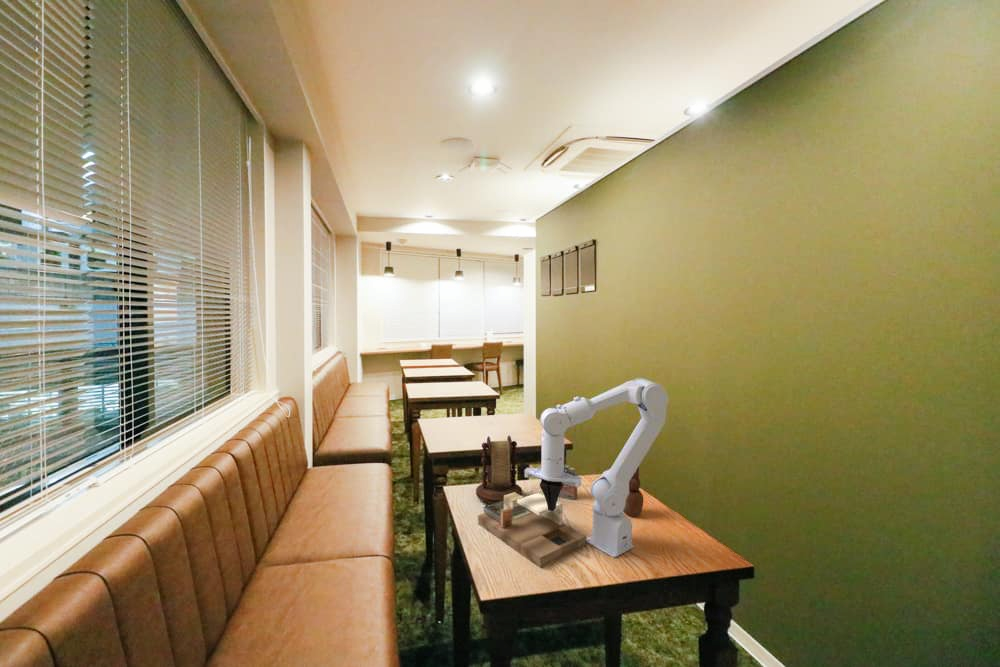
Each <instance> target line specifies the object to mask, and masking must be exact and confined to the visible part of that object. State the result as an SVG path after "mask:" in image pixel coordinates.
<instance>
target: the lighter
mask: <svg viewBox="0 0 1000 667" xmlns="http://www.w3.org/2000/svg"><path fill="white" fill-rule="evenodd" d="M564 472H565V473H568V474H571V475H574V476H577V477H579V475H578V474H576V473H575V468H574V467H570V465H564ZM558 498H562V499H565V500H570V501H571V500H572V501H577V500H578V498H579V497H578V487H575V486H573V485H568V484H564V485H563V487H562V489H561V491H560V493H559V496H558Z"/></svg>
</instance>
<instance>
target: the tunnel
mask: <svg viewBox="0 0 1000 667" xmlns="http://www.w3.org/2000/svg"><path fill="white" fill-rule="evenodd" d="M517 503H518V504H520V505H522V506H523V507H525V508H526V510H525V511H523V512H520V513H517V514H515V515H512V524H511V525H509V526H506V527H501V523H500V522H498V521H497V520H495V519H494V518H492V517H491V516H489V515H488V514H486V513H484V512H483V513H481V514H478V515H477V525H479V526H480V527H482V528H484V529H485V530H486V531H487V532H489V533H490V534H491V535H493V536H494V537H496V538H497V539H499V540H500V541H501V542H503V543H504V544H505V545H507V546H509V547H510V548H511V549H513V550H514V551H516V552H517V553H518V554H520V555H521V556H522V557H524V558H525V559H527V560H528V561H529V562H531V563H533V564H534V565H536V567H538V568H539V569H541V568H543V567H545V566H547V565H549V564H551V563H553V562H555V561H557V560H559V559H561V558H563V557H565V556H567V555H570V554H572V553H573V552H576V551H577V550H579V549H582V548H584V547H586V546H587V542H586V539H587V535H586V534H584V533H582V532H580V531H578V530H576V529H575V528H573V527H571V526H569V525H568V524H565V523H564V522H563V512H564V511H563V508H564V505H563V503H562V502H561V501H558V500H557V503H556V508H555V510H554V511H550V510H548V506H547V502H546V499H545V496H544V493H543V492H540V491H539V492H536V493H533V494H531V495H527V496H523V498H521V499H518V500H517ZM503 510H504V507H501V508H498V509H495V510H494V511H496V512H497V513H501V511H503Z"/></svg>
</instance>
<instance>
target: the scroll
mask: <svg viewBox="0 0 1000 667" xmlns="http://www.w3.org/2000/svg"><path fill="white" fill-rule="evenodd" d="M517 446H518V443H517V441H515V440H513V441H512V437H511V435H508V436H507V440H494V441H491V438H490V436H489V435H488V437H487V438H486V442H483V443H481V448H482V455H481V456H482V458H481V465H482V467H481V468H482V472H481V479H482V482H481V483H480V484H479V485H477V487H476V489H475V494H476V497H477V498H478V499H479V500H481V501H483V502H485V503H484V504H485V506H487V505H490V504H489V503H491V504H493V503H496V502H499V501H502V500H504V495H508V494H511V493H514V492H515V493H517V494H519V495H521V496H522V497H523V489H522V487H521V486H520V485H519V484H517V479H516V477H517V476H516V475H517V473H518V472H517V470H516V468H517V466H516V464H517V461H518V457H517V451H516V449H517ZM488 455H489V456H490V457H488ZM488 463H491V465H490V464H488Z"/></svg>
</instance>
